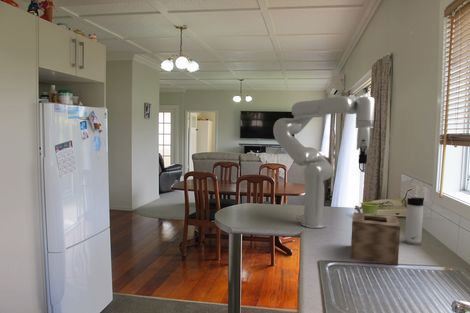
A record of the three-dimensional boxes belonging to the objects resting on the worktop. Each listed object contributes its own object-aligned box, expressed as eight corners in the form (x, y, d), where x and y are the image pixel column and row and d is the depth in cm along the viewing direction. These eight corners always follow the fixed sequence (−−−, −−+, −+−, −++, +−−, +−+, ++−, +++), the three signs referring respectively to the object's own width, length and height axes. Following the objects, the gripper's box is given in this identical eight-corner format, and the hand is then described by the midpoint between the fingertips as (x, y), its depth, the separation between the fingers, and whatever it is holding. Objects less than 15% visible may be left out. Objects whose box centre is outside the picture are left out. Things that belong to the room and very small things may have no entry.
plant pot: (372, 222, 183) (373, 206, 183) (356, 218, 191) (357, 203, 190) (381, 220, 189) (382, 204, 189) (365, 216, 197) (366, 201, 196)
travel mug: (415, 246, 146) (418, 198, 144) (401, 241, 152) (404, 196, 150) (425, 244, 149) (427, 197, 147) (411, 239, 154) (413, 195, 153)
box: (350, 258, 129) (352, 221, 128) (352, 245, 144) (354, 212, 143) (397, 265, 124) (400, 226, 123) (395, 251, 139) (397, 216, 138)
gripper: (356, 125, 166) (354, 161, 167) (354, 124, 150) (353, 163, 151) (373, 125, 163) (371, 161, 164) (373, 124, 147) (371, 164, 148)
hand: (362, 162), depth 158 cm, fingers open, 9 cm apart
